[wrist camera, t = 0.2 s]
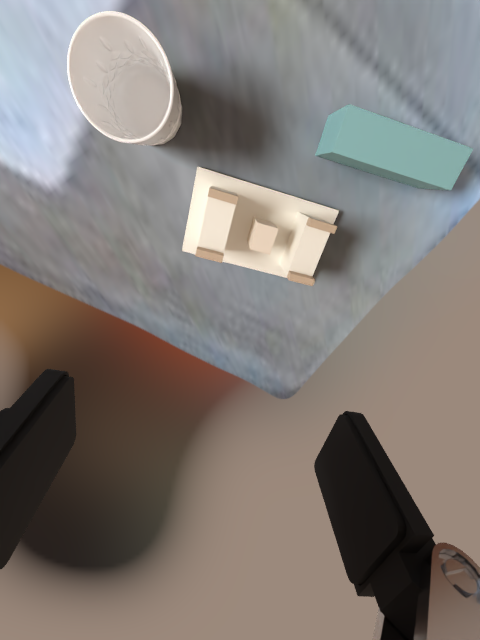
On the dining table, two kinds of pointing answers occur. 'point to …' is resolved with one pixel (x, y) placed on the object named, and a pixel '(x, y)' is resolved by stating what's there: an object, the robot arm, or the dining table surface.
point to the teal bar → (391, 149)
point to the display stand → (256, 227)
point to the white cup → (123, 80)
